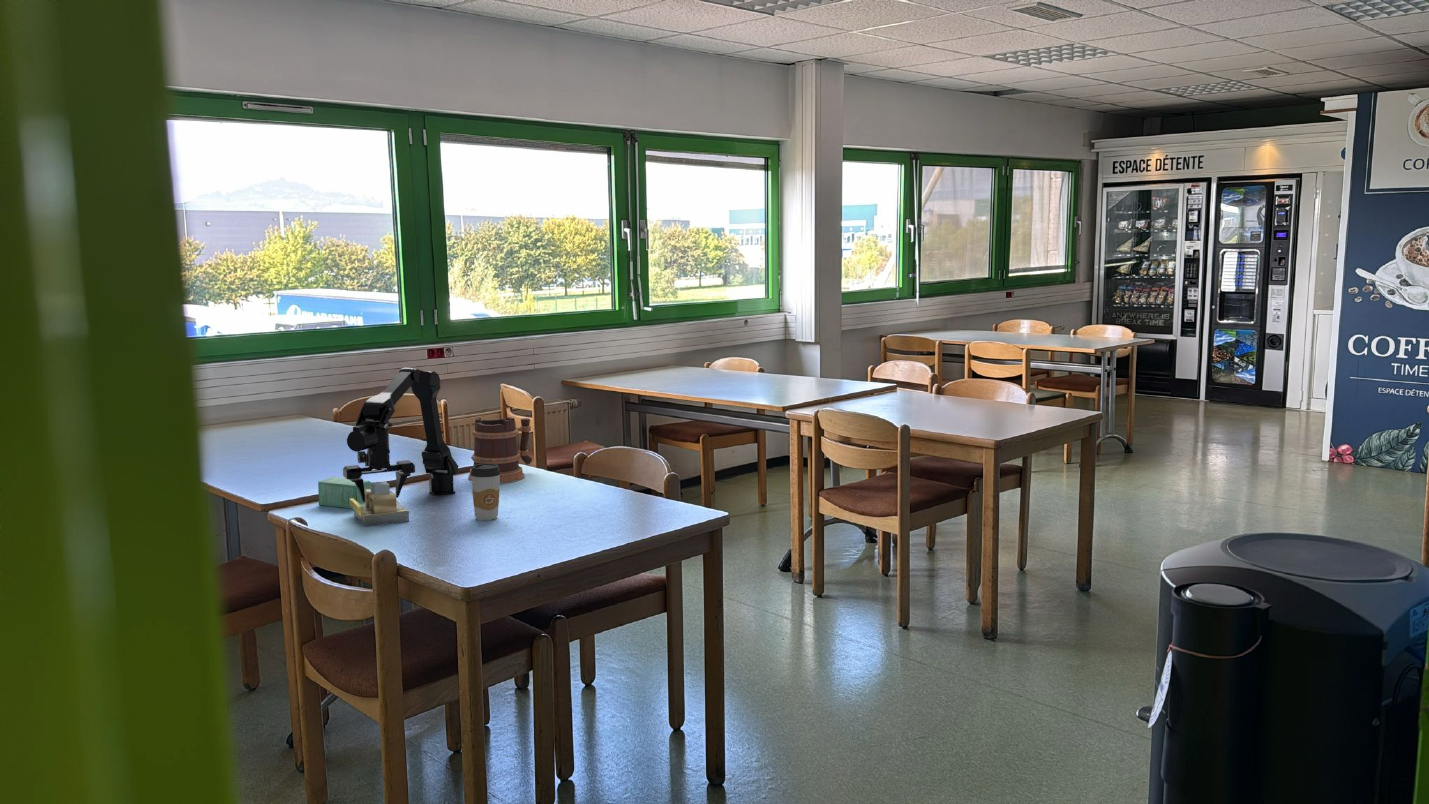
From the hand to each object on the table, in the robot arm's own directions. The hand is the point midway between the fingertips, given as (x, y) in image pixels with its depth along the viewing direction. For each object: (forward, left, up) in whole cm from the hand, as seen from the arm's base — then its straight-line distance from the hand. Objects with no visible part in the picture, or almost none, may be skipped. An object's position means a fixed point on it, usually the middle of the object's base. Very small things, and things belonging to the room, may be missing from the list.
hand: (380, 499), depth 295 cm
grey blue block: (0, 0, +2) cm, 2 cm away
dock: (0, 0, -5) cm, 5 cm away
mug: (-48, -35, -6) cm, 60 cm away
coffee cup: (-26, +14, -6) cm, 30 cm away
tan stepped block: (0, 0, -2) cm, 2 cm away
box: (+5, -21, -6) cm, 22 cm away
